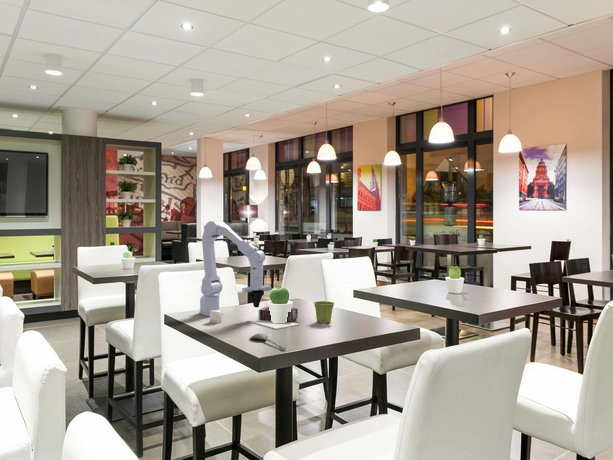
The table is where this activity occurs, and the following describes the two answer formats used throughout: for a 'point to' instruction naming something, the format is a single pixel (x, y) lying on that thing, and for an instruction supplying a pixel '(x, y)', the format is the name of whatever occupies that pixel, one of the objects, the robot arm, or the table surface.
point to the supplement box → (265, 315)
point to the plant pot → (324, 311)
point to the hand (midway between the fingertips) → (256, 307)
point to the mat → (274, 324)
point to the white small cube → (215, 316)
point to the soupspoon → (264, 337)
